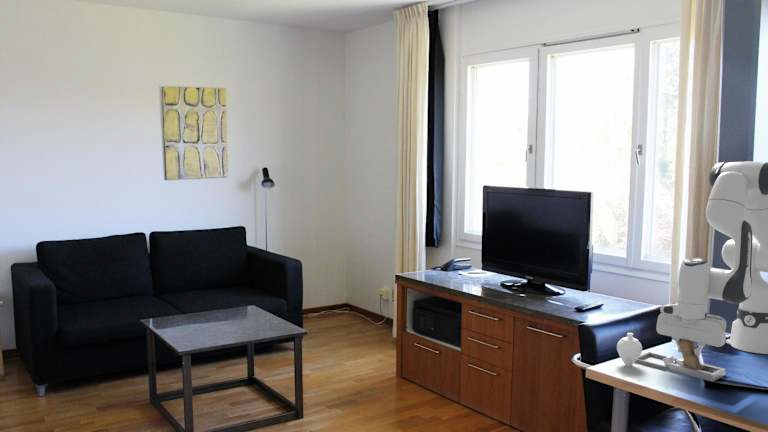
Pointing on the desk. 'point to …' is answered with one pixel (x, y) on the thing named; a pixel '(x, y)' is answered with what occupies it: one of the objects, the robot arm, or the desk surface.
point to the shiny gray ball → (669, 360)
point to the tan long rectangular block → (689, 354)
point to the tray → (651, 362)
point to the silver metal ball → (681, 361)
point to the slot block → (699, 371)
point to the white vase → (629, 349)
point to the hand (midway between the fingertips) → (688, 354)
